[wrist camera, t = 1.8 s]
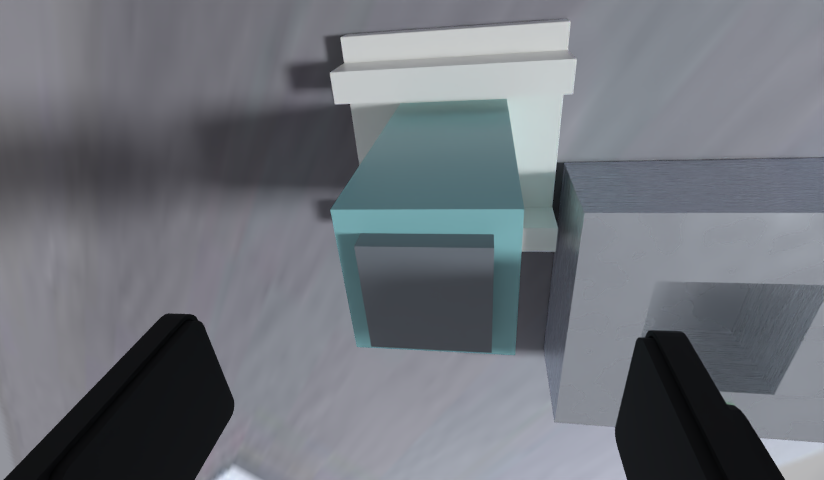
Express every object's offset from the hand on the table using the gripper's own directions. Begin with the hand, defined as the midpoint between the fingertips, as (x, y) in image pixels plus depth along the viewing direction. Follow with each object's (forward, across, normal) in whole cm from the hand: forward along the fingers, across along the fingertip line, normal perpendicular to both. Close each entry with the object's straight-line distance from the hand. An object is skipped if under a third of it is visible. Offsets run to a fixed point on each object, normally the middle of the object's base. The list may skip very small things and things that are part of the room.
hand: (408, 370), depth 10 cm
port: (+13, -11, +6) cm, 19 cm away
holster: (+13, 0, -1) cm, 13 cm away
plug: (+12, 0, -1) cm, 12 cm away
